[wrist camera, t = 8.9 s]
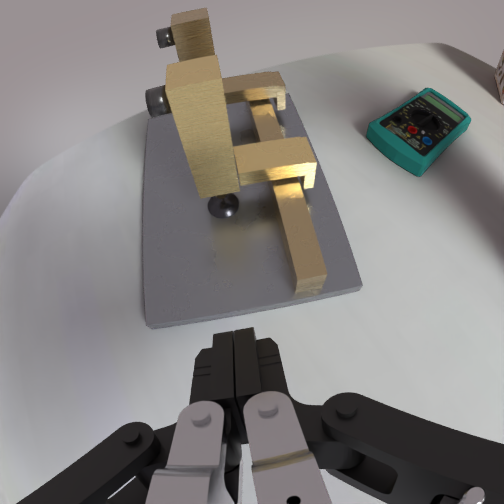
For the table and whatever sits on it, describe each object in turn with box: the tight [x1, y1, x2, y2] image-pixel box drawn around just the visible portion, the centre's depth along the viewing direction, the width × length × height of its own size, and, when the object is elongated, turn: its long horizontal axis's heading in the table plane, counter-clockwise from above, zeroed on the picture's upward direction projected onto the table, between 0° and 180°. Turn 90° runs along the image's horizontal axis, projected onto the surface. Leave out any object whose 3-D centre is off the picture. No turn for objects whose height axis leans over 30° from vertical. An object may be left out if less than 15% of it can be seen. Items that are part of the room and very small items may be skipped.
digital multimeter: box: [366, 88, 471, 177], centre depth 30 cm, size 7×15×3 cm, turn 129°
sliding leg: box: [146, 55, 317, 199], centre depth 21 cm, size 10×3×12 cm, turn 100°
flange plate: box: [143, 93, 363, 329], centre depth 28 cm, size 16×23×1 cm
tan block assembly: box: [156, 8, 327, 293], centre depth 22 cm, size 10×22×12 cm, turn 10°
